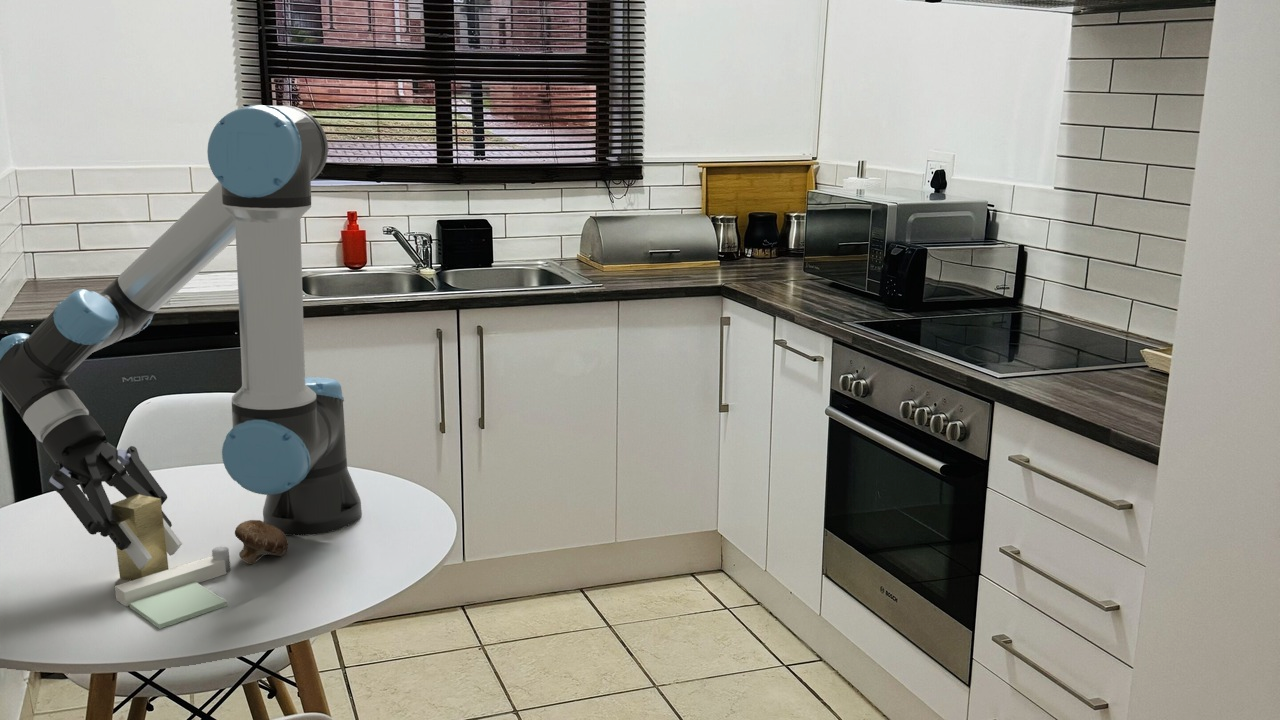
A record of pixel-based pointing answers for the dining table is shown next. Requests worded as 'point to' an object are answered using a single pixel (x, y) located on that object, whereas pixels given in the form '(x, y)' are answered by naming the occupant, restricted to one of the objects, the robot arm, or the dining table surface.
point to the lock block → (142, 534)
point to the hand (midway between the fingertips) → (161, 556)
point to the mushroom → (260, 540)
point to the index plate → (177, 604)
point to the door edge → (175, 577)
